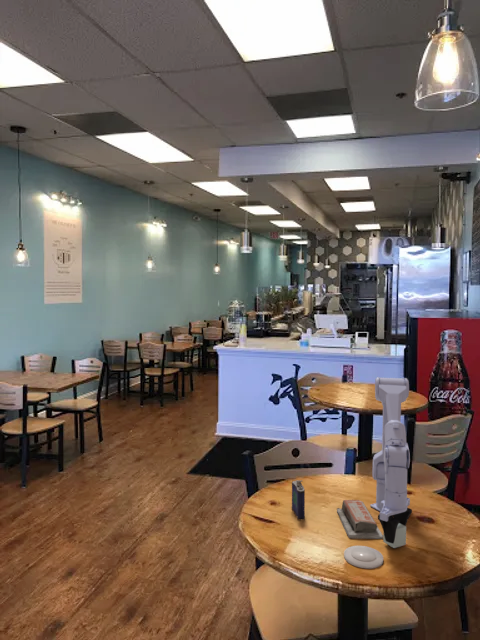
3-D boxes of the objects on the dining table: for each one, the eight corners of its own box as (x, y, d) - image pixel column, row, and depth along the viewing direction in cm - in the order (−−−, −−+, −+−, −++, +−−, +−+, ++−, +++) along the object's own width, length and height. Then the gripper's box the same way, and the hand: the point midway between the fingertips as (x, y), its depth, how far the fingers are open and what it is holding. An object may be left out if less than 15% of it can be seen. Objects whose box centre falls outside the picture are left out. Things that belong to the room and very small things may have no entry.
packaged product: (336, 497, 156) (367, 498, 157) (335, 512, 157) (366, 512, 157) (349, 523, 138) (384, 523, 139) (348, 540, 139) (383, 540, 139)
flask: (290, 507, 159) (291, 475, 159) (299, 507, 160) (299, 474, 159) (297, 520, 150) (298, 486, 150) (307, 519, 150) (307, 485, 150)
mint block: (394, 538, 137) (395, 520, 137) (405, 544, 134) (406, 526, 134) (383, 541, 135) (383, 523, 135) (393, 548, 132) (394, 530, 132)
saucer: (364, 545, 135) (365, 541, 135) (391, 562, 126) (391, 558, 126) (336, 553, 130) (336, 549, 130) (361, 572, 121) (361, 567, 121)
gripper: (393, 478, 142) (392, 524, 143) (369, 492, 131) (368, 542, 132) (417, 485, 137) (416, 532, 138) (394, 500, 127) (393, 551, 127)
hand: (394, 537), depth 135 cm, fingers closed on mint block, 5 cm apart
